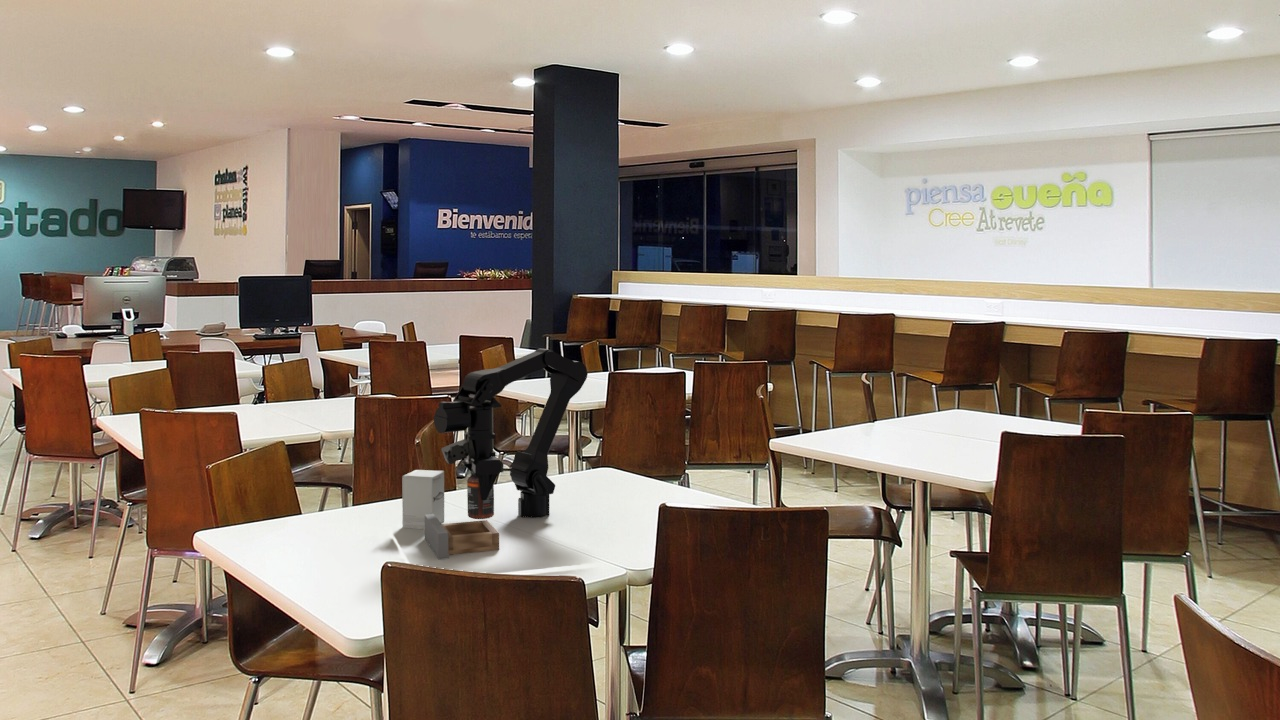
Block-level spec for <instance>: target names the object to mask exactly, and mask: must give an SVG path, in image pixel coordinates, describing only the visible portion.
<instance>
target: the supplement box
mask: <svg viewBox="0 0 1280 720" xmlns="http://www.w3.org/2000/svg"><path fill="white" fill-rule="evenodd" d="M401 478H402V479H401V481H402V483H401V484H402V485H401V487H402V492H401V493H402V495H401V496H402V500H401V501H402V528H403V529H404V528H405V529H418V530H419V529H420V530H422V529H423V530H425V515H428V514H434V515H435V516H436V517H437V519H438V520H439V521H440V523H441V524H444V522H445V471H444V470H431V469H428V470H427V469H426V470H425V469H414V470H413V471H411V472H408V473H407V474H404V475H402V477H401Z"/></svg>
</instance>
